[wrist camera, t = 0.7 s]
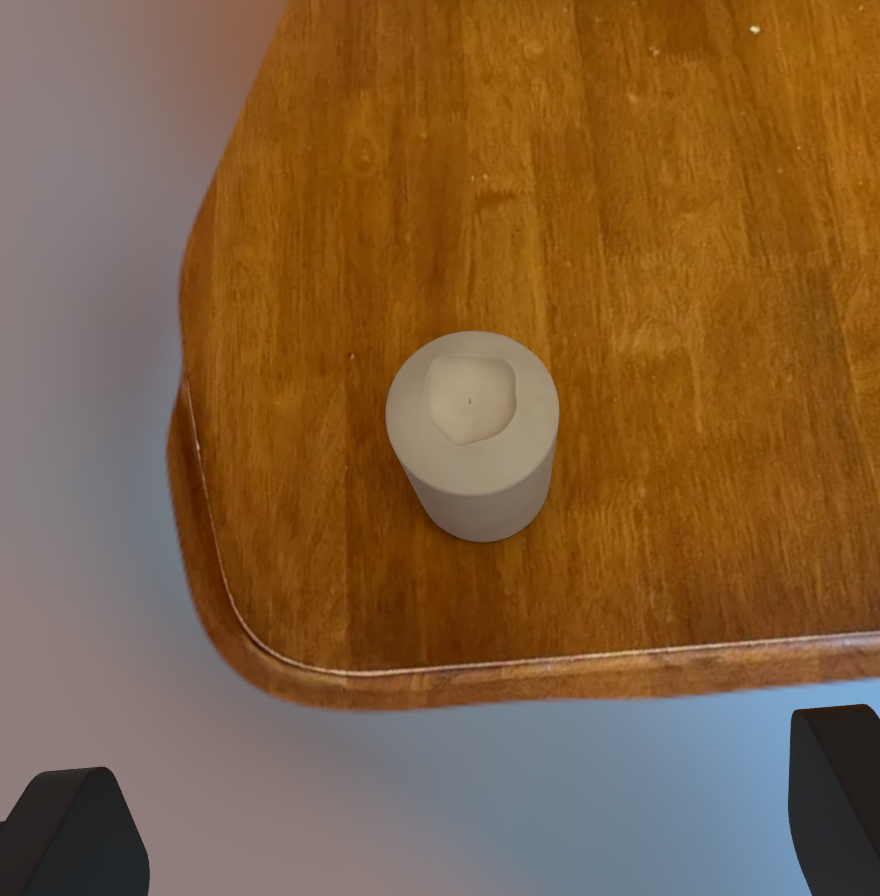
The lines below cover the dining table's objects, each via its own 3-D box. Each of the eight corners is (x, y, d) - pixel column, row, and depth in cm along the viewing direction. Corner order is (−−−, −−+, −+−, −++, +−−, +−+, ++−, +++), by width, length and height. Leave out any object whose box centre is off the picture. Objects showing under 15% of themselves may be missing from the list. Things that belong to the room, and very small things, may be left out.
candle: (391, 465, 34) (342, 378, 25) (496, 391, 35) (488, 277, 25) (468, 571, 33) (447, 520, 23) (577, 491, 33) (600, 410, 24)
